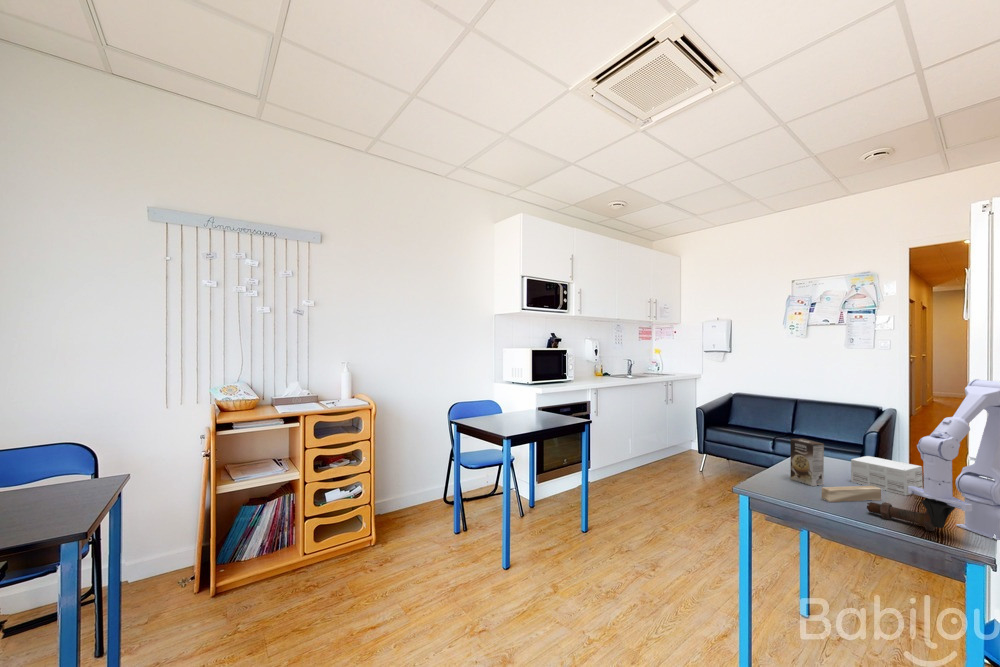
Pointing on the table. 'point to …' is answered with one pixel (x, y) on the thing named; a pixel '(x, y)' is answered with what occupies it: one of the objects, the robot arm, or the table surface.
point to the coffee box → (807, 461)
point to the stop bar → (851, 493)
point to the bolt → (901, 514)
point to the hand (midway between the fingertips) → (938, 527)
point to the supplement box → (886, 474)
